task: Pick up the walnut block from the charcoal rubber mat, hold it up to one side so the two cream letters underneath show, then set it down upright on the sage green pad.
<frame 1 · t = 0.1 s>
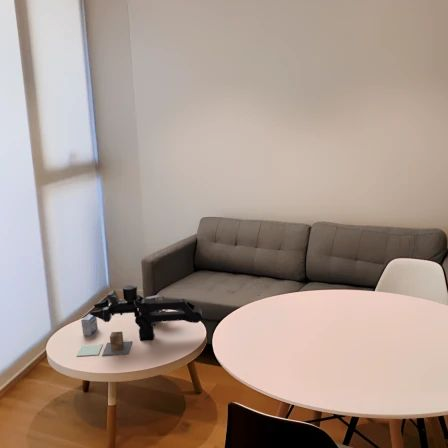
hand: (92, 309, 237), 17 cm above the table, tool horizontal, fingers open, 9 cm apart
medicine box: (90, 332, 251), on the table
figurine: (156, 323, 259), on the table
code mat: (117, 349, 232), on the table
walnut block: (117, 347, 232), point 1 cm above the table, touching code mat
sage pad: (89, 350, 232), on the table
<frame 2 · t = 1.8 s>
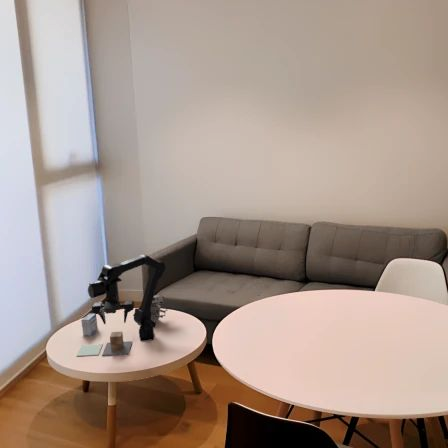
hand: (115, 323, 229), 13 cm above the table, tool pointing down, fingers open, 9 cm apart
nothing on the table moved.
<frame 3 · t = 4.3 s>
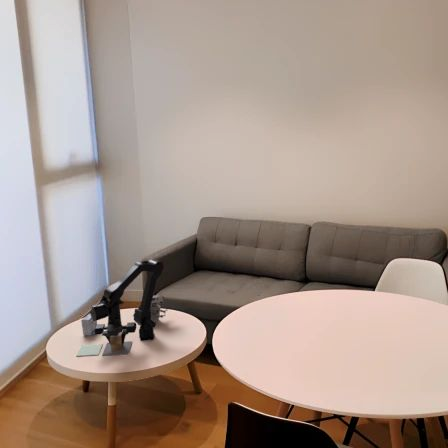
hand: (117, 345, 232), 2 cm above the table, tool pointing down, fingers closed on walnut block, 5 cm apart
walnut block: (117, 347, 232), point 1 cm above the table, touching code mat, gripper
everything else where it was.
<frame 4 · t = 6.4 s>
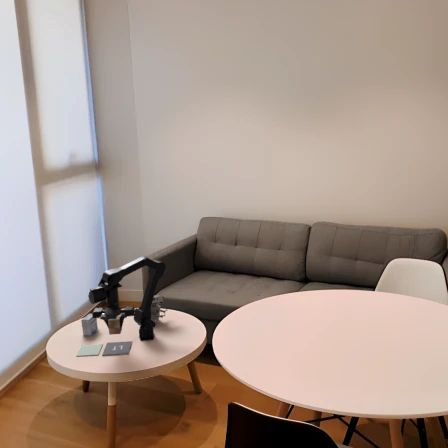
hand: (115, 329, 230), 10 cm above the table, tool pointing down, fingers closed on walnut block, 5 cm apart
walnut block: (115, 331, 230), point 9 cm above the table, touching gripper
everything else where it was.
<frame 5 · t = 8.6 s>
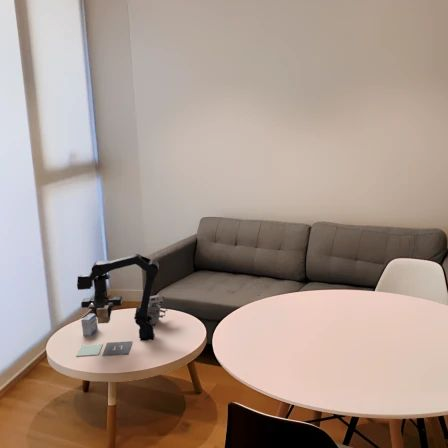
hand: (103, 318, 238), 12 cm above the table, tool pointing down, fingers closed on walnut block, 5 cm apart
walnut block: (104, 321, 238), point 11 cm above the table, touching gripper
everything else where it was.
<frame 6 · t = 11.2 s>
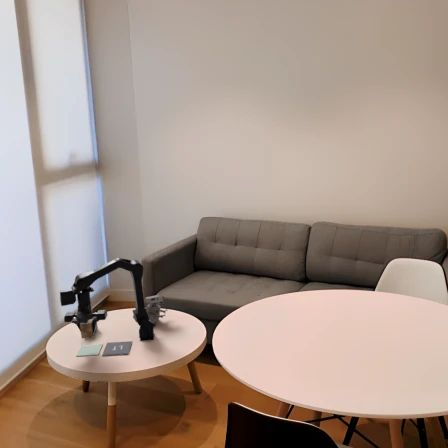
hand: (87, 332, 230), 9 cm above the table, tool pointing down, fingers closed on walnut block, 5 cm apart
walnut block: (88, 335, 230), point 8 cm above the table, touching gripper
everything else where it was.
when the fingers open (3 cm above the table, at t = 13.2 s): walnut block drops 1 cm, resting on sage pad.
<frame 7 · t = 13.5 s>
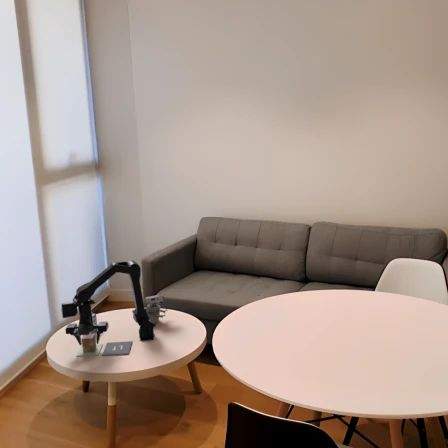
hand: (89, 344, 231), 3 cm above the table, tool pointing down, fingers open, 8 cm apart
walnut block: (89, 349, 232), resting on sage pad
everything else where it was.
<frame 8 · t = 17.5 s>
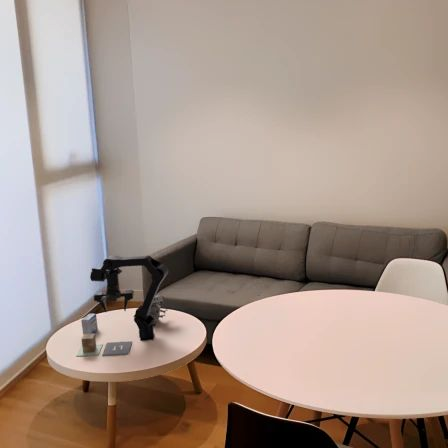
hand: (115, 311, 243), 13 cm above the table, tool pointing down, fingers open, 9 cm apart
nothing on the table moved.
at the end: walnut block inside the target area (0.0 cm from its centre), resting on sage pad; walnut block tilted 0°; walnut block moved 13.0 cm from its start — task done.
